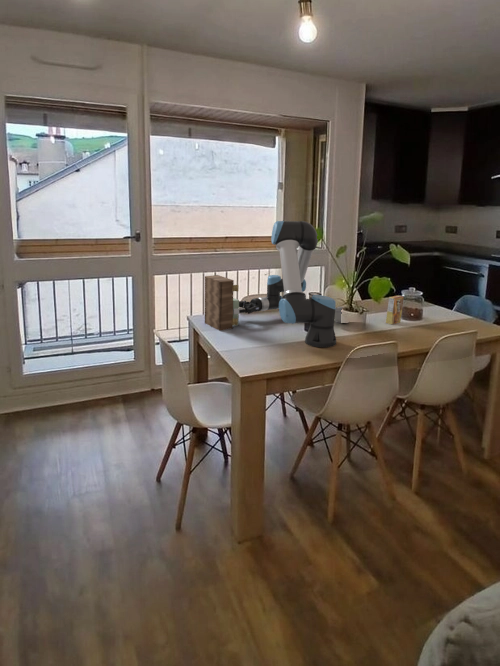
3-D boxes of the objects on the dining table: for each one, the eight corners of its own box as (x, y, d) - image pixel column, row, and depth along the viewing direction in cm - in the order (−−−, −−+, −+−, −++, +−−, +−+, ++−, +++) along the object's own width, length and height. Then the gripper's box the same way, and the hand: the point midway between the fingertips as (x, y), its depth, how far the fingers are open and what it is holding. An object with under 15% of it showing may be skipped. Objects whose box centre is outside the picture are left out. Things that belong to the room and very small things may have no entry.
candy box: (394, 320, 284) (397, 295, 280) (400, 322, 281) (404, 296, 276) (385, 323, 279) (388, 297, 274) (391, 325, 276) (394, 298, 271)
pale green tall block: (239, 324, 266) (240, 299, 262) (233, 326, 264) (233, 300, 260) (232, 321, 273) (232, 296, 269) (225, 322, 270) (225, 297, 266)
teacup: (353, 325, 272) (355, 311, 270) (334, 324, 272) (335, 310, 270) (349, 318, 286) (350, 305, 283) (331, 318, 286) (332, 304, 283)
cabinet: (237, 329, 259) (239, 280, 251) (221, 331, 253) (222, 282, 246) (220, 320, 273) (221, 274, 265) (204, 323, 268) (204, 276, 260)
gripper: (271, 316, 267) (239, 321, 255) (246, 306, 286) (215, 310, 275) (272, 302, 264) (239, 307, 253) (247, 293, 284) (215, 297, 272)
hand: (226, 308), depth 264 cm, fingers open, 13 cm apart
